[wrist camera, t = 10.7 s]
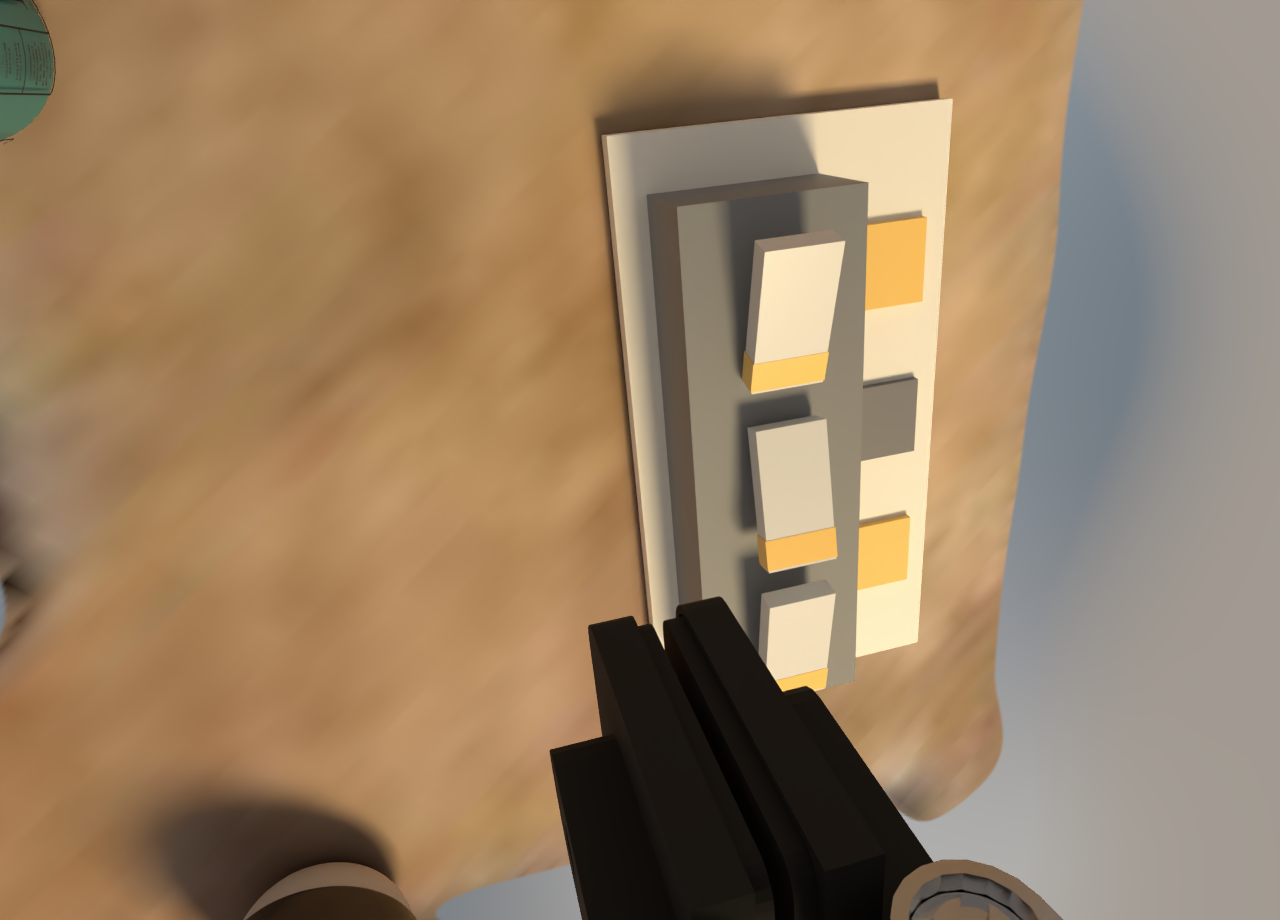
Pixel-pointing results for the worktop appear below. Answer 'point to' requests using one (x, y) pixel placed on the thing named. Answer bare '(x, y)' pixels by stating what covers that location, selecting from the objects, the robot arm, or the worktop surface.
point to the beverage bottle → (23, 65)
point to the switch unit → (848, 397)
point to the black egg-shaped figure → (333, 896)
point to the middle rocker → (792, 493)
